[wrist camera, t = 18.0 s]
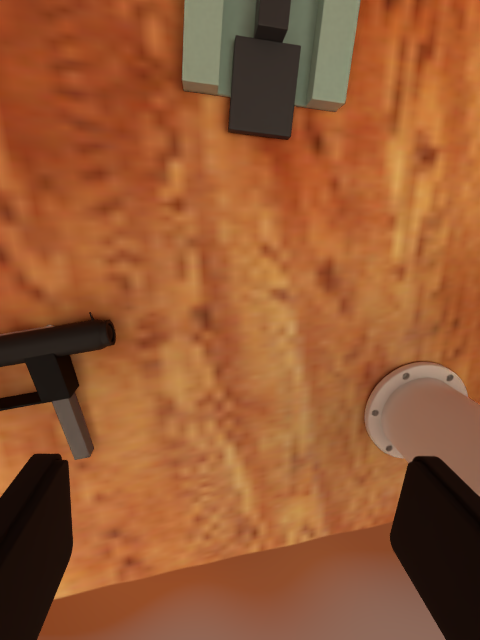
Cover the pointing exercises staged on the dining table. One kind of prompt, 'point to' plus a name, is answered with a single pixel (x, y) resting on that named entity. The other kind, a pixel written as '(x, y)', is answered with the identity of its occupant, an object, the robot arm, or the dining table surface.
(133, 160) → the dining table surface
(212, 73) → the spoon rest
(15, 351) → the submachine gun
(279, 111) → the spatula
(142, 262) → the dining table surface
